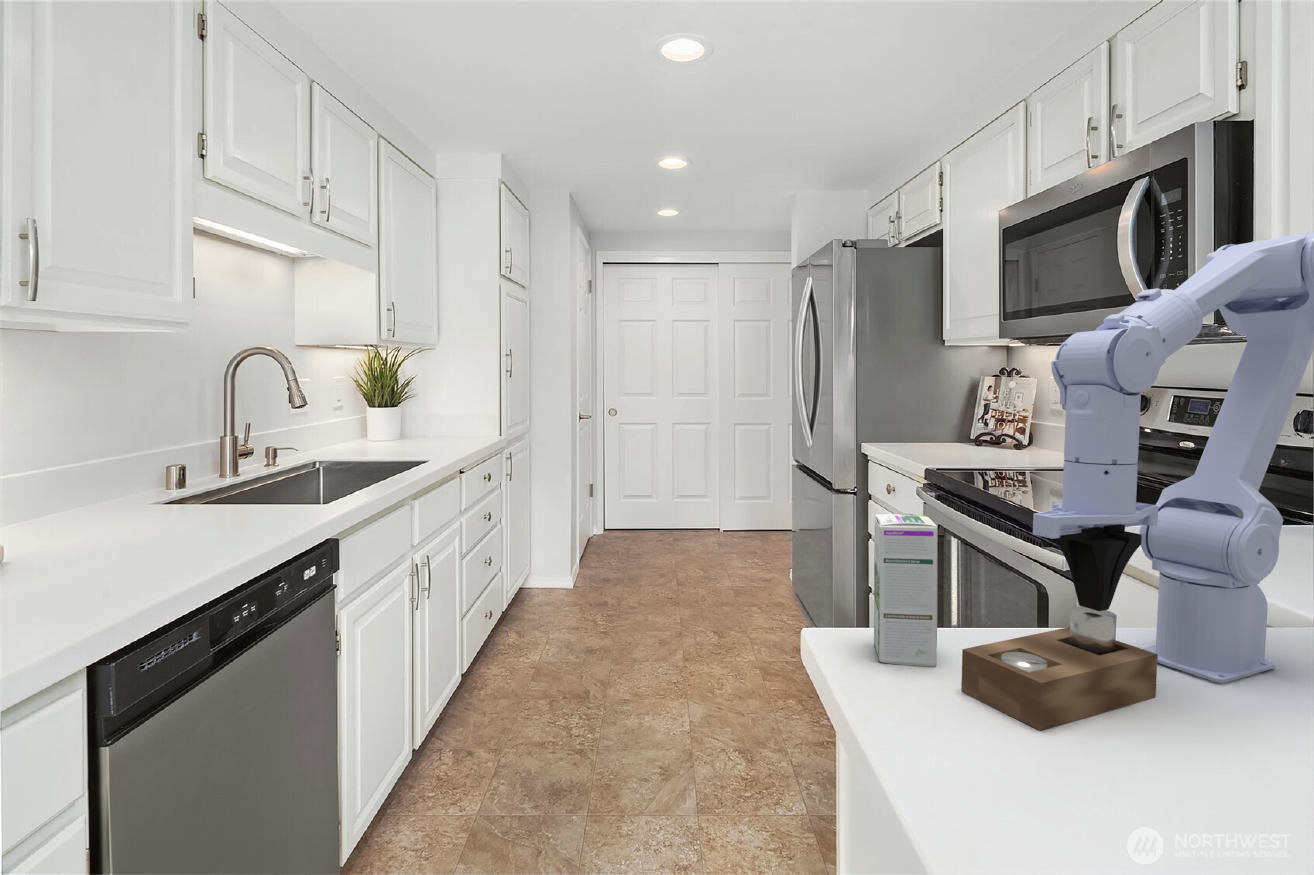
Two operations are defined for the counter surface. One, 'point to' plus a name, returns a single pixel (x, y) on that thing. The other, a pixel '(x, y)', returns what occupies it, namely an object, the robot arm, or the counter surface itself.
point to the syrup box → (905, 589)
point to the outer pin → (1024, 661)
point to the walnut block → (1058, 679)
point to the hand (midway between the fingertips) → (1093, 607)
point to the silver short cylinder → (1093, 630)
